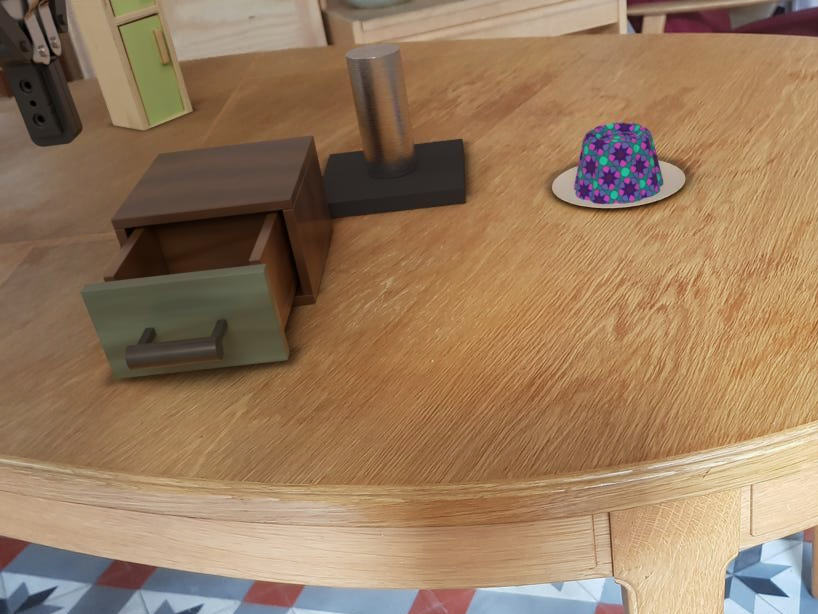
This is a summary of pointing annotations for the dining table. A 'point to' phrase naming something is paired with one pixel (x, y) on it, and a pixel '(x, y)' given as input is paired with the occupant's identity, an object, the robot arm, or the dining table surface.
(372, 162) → the brushed steel cylinder
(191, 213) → the cabinet
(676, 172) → the pudding
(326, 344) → the dining table surface
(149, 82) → the toy refrigerator
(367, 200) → the black rectangular block
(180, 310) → the drawer
